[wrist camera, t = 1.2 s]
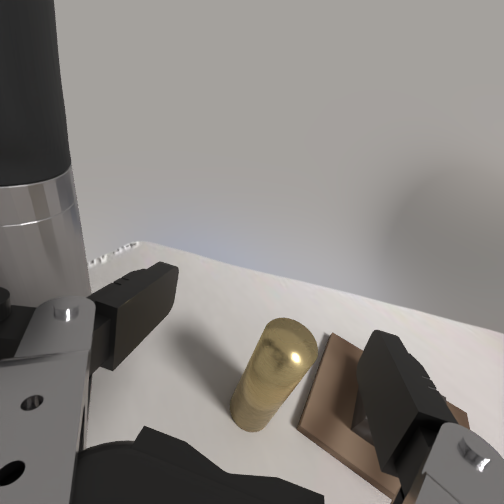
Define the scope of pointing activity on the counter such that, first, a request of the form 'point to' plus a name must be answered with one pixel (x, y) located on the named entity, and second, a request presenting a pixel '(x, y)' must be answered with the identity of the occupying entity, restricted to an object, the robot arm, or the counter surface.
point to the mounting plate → (348, 415)
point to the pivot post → (272, 372)
